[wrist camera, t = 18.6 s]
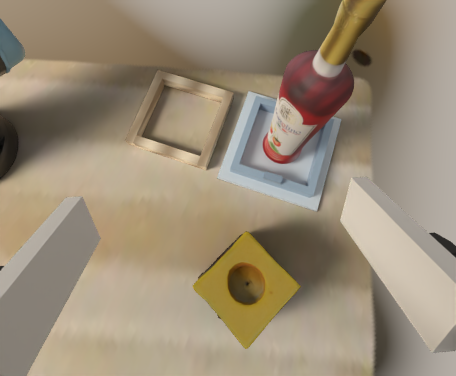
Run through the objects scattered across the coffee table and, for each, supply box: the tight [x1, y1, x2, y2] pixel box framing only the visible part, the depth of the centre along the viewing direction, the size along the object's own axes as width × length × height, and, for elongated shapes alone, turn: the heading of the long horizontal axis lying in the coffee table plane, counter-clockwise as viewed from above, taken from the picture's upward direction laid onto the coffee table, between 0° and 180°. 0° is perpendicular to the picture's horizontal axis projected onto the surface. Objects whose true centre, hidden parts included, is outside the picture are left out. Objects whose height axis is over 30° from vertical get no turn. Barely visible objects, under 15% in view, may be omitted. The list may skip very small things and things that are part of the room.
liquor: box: [263, 0, 386, 164], centre depth 30 cm, size 7×7×28 cm
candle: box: [193, 232, 301, 349], centre depth 35 cm, size 10×10×10 cm
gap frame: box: [125, 70, 234, 170], centre depth 45 cm, size 15×15×2 cm
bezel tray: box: [217, 91, 341, 211], centre depth 43 cm, size 18×18×3 cm
